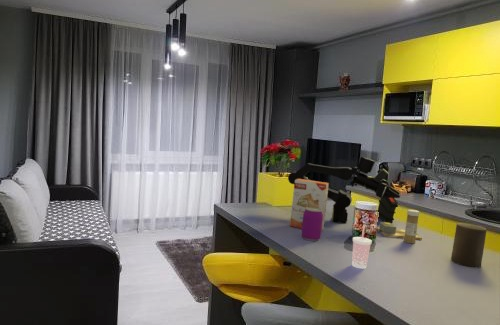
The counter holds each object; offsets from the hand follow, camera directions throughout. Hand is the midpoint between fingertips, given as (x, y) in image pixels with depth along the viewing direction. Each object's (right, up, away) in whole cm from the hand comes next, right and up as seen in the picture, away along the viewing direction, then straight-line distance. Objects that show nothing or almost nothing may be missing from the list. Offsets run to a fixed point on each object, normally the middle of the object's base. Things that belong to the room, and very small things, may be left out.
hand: (399, 195), depth 182 cm
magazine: (+1, -15, +21) cm, 26 cm away
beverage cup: (-32, -19, -51) cm, 63 cm away
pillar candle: (+10, -22, -37) cm, 44 cm away
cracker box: (-43, -14, -7) cm, 46 cm away
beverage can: (-44, -15, -23) cm, 52 cm away
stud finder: (-7, -17, -5) cm, 19 cm away
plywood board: (-2, -17, -5) cm, 18 cm away
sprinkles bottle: (-2, -18, -16) cm, 24 cm away
